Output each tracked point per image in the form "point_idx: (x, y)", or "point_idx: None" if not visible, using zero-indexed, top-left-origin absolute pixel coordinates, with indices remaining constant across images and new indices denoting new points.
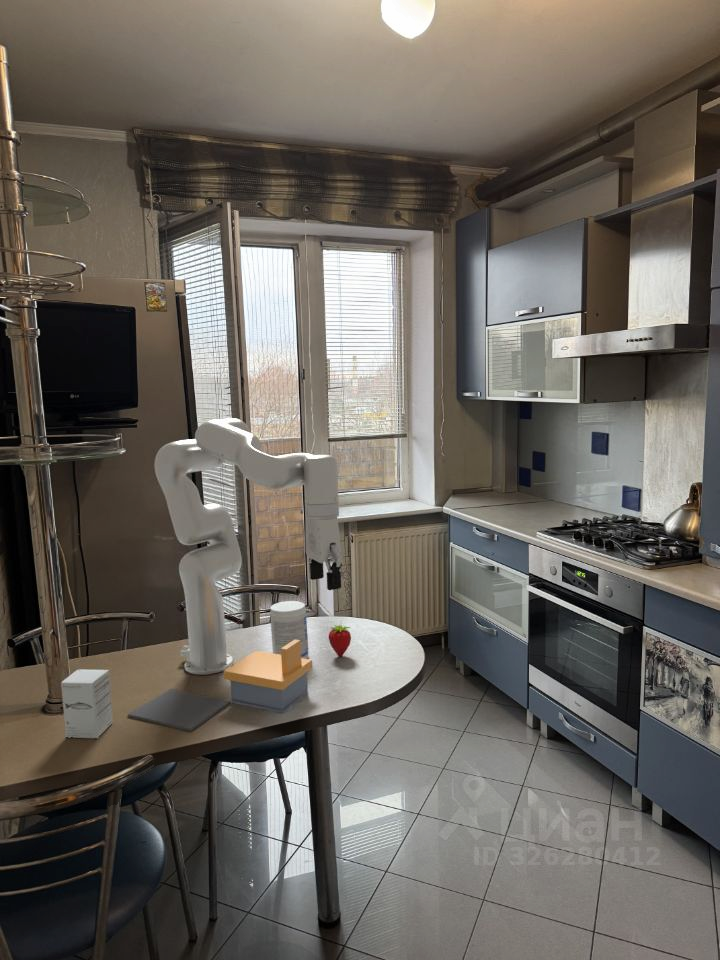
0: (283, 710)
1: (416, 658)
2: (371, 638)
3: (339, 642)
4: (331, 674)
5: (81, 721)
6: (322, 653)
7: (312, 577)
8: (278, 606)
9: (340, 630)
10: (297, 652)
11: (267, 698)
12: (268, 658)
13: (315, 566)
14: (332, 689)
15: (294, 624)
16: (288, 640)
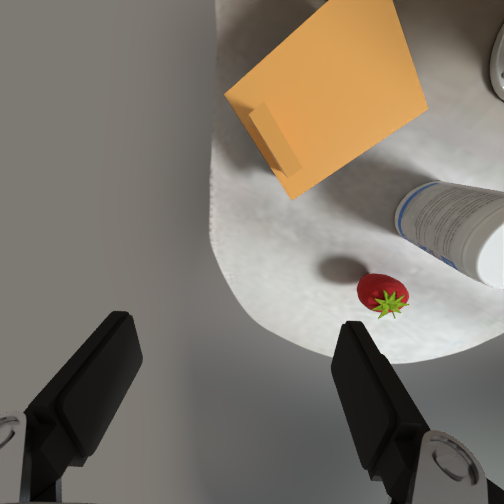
0: None
1: (291, 341)
2: (387, 333)
3: (363, 284)
4: (321, 238)
5: None
6: (398, 260)
7: (346, 332)
8: None
9: (379, 301)
10: (276, 161)
11: None
12: (361, 118)
13: (369, 413)
14: (274, 217)
15: (449, 234)
16: (432, 209)
